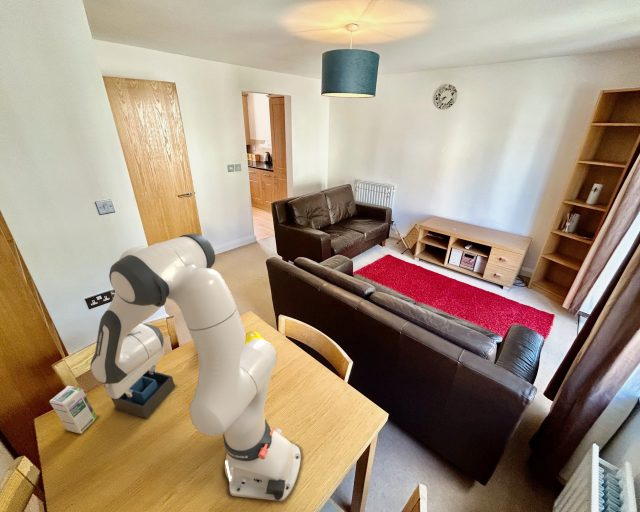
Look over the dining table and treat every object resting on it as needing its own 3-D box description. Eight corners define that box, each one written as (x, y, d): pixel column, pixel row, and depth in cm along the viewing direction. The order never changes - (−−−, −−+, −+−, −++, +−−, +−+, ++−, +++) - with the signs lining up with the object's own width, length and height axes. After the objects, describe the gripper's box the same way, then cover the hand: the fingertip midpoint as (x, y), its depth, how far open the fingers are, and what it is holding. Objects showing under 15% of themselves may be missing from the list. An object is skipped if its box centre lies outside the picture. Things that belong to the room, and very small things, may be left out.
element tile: (241, 372, 110) (240, 364, 108) (225, 351, 120) (223, 343, 118) (272, 354, 120) (272, 346, 118) (255, 336, 130) (254, 328, 128)
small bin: (159, 391, 101) (155, 379, 99) (146, 405, 96) (141, 393, 93) (146, 387, 103) (142, 375, 100) (132, 401, 97) (127, 389, 95)
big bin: (175, 386, 104) (172, 376, 101) (146, 418, 92) (142, 408, 90) (146, 378, 107) (143, 368, 104) (115, 408, 95) (111, 397, 93)
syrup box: (81, 434, 87) (64, 404, 81) (66, 430, 88) (48, 400, 82) (97, 417, 92) (83, 388, 86) (83, 414, 93) (67, 384, 87)
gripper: (109, 382, 81) (123, 413, 86) (162, 336, 98) (171, 364, 104) (93, 377, 82) (108, 407, 88) (148, 333, 100) (157, 360, 106)
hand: (142, 383), depth 96 cm, fingers open, 8 cm apart
